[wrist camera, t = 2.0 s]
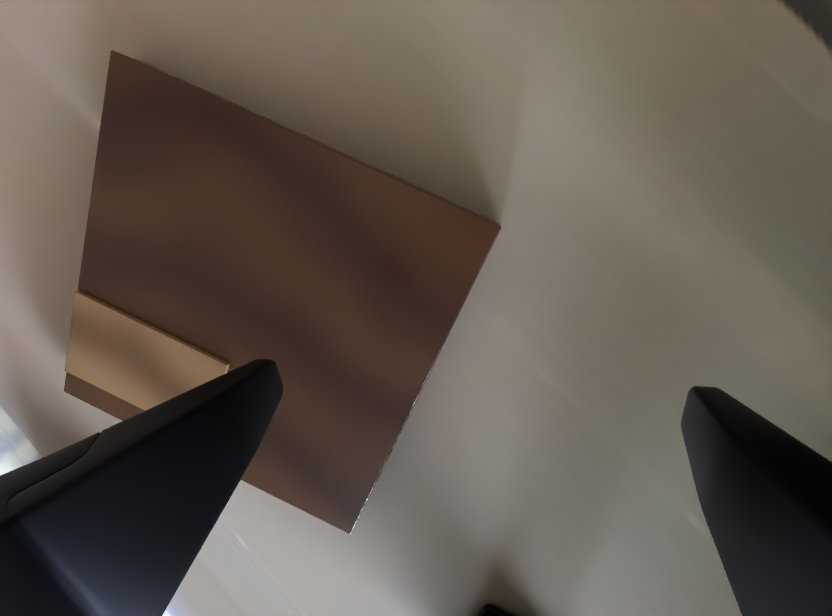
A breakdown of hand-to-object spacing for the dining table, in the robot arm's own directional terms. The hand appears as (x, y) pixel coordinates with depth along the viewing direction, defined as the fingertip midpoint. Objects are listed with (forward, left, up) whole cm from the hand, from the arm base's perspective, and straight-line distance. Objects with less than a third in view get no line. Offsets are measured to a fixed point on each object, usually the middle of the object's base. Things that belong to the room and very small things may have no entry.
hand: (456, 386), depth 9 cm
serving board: (-8, +11, -14) cm, 20 cm away
